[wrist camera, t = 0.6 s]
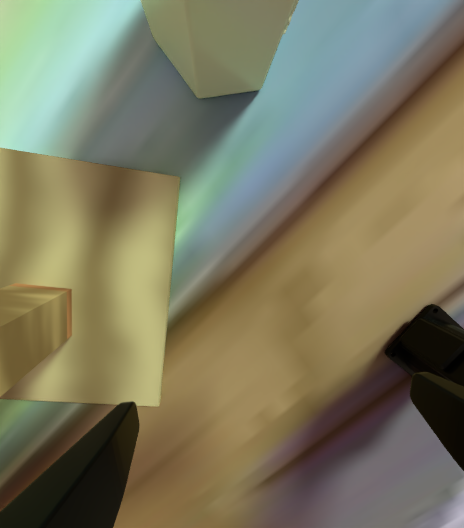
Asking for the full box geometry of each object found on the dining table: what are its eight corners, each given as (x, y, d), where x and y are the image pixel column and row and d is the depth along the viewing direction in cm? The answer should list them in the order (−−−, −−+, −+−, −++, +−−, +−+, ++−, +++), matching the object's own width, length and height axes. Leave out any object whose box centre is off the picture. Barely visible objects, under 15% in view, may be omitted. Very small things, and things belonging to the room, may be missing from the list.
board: (180, 178, 17) (179, 176, 16) (160, 401, 21) (158, 406, 20) (-202, 116, 14) (-220, 112, 14) (-140, 385, 18) (-151, 391, 18)
